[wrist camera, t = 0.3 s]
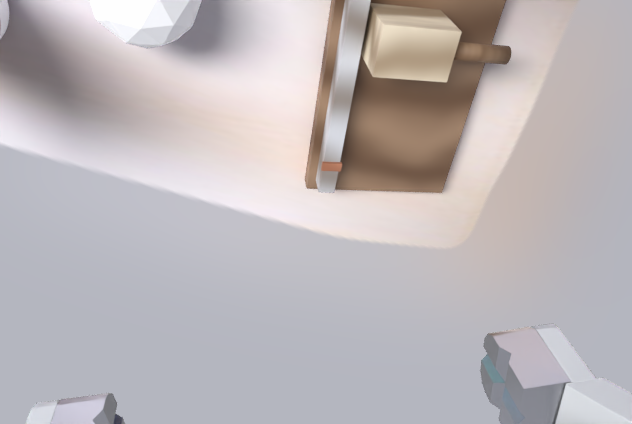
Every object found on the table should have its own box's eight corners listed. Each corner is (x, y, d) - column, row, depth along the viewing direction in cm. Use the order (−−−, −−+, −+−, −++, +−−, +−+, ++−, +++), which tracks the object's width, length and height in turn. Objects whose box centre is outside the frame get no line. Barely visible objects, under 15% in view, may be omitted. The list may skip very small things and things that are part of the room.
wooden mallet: (368, 2, 43) (383, 24, 39) (497, 15, 45) (523, 37, 41) (359, 51, 46) (372, 77, 42) (482, 61, 48) (505, 86, 44)
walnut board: (340, -61, 42) (349, -49, 39) (509, -41, 44) (530, -28, 41) (304, 179, 55) (309, 202, 52) (437, 184, 57) (449, 206, 54)
